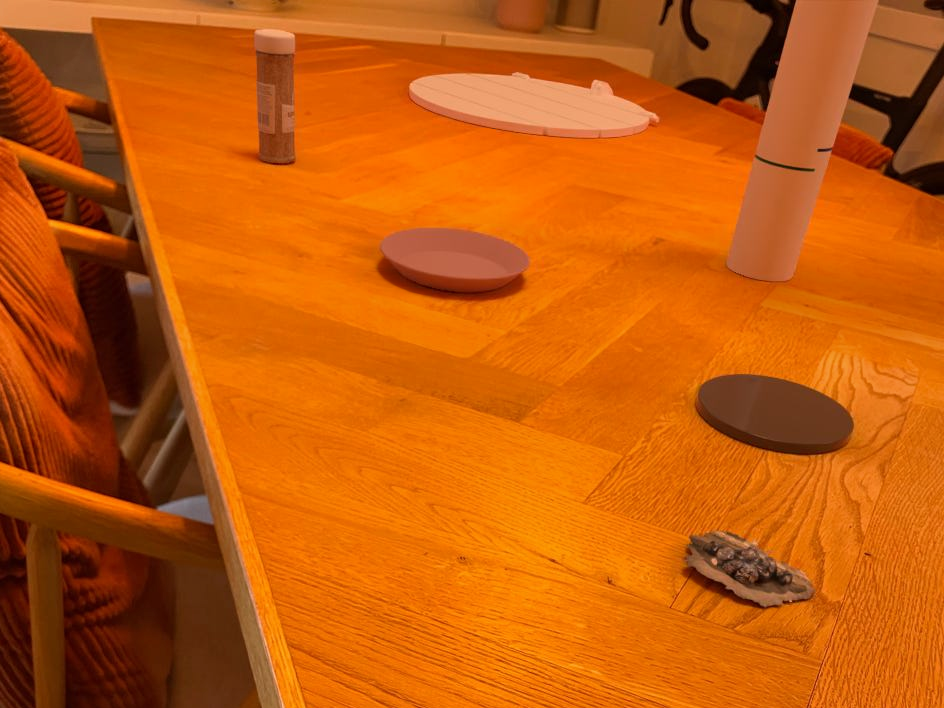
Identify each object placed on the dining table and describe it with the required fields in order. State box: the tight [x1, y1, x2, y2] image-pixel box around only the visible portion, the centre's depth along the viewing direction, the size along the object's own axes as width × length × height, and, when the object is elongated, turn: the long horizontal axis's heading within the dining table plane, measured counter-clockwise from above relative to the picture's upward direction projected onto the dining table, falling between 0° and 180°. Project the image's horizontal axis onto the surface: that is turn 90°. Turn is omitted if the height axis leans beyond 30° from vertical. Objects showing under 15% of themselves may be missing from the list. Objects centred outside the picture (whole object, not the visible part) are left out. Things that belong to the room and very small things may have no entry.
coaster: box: [695, 373, 855, 455], centre depth 76 cm, size 12×12×1 cm
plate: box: [379, 227, 531, 293], centre depth 94 cm, size 14×14×2 cm
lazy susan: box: [408, 71, 660, 139], centre depth 160 cm, size 40×39×3 cm
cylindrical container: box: [725, 0, 879, 282], centre depth 98 cm, size 7×7×25 cm
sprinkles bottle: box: [253, 28, 297, 165], centre depth 116 cm, size 5×5×14 cm
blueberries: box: [682, 530, 817, 608], centre depth 58 cm, size 7×8×2 cm
